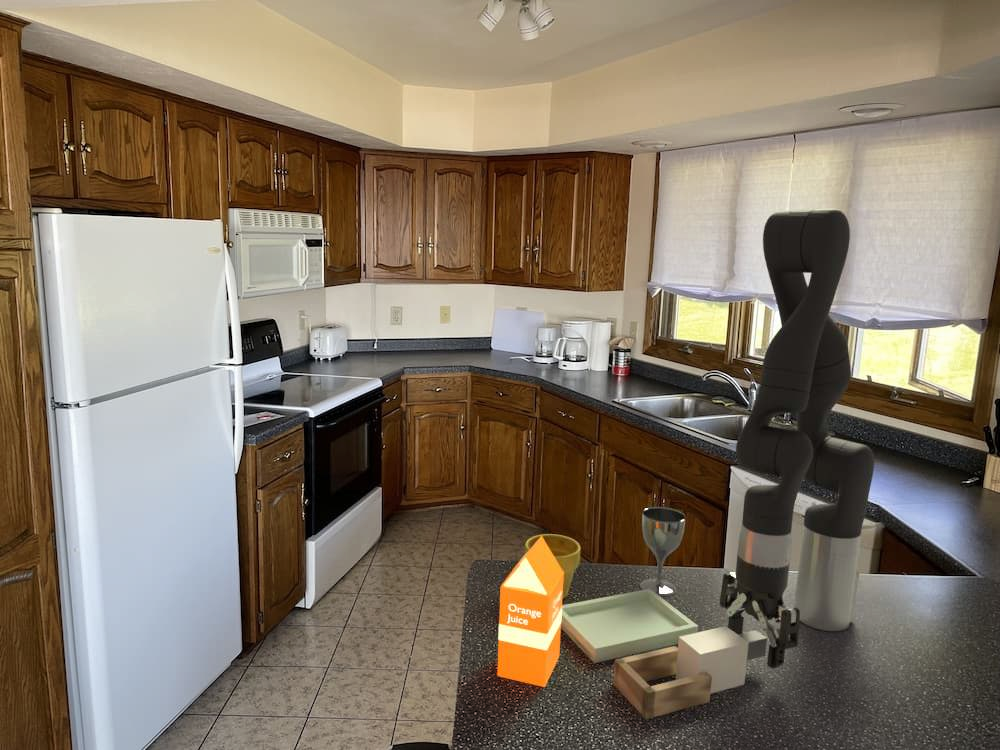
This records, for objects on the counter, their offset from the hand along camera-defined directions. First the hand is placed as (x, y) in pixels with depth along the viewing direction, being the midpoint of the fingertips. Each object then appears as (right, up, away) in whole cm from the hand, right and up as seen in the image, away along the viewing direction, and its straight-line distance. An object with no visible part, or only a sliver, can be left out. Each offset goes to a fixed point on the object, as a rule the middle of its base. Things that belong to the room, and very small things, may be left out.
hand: (753, 651), depth 111 cm
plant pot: (-30, +2, +23) cm, 38 cm away
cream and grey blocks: (-5, -3, -2) cm, 7 cm away
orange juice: (-35, -2, 0) cm, 35 cm away
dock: (-15, -4, -6) cm, 17 cm away
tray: (-18, -1, +11) cm, 21 cm away
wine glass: (-9, +2, +27) cm, 28 cm away
